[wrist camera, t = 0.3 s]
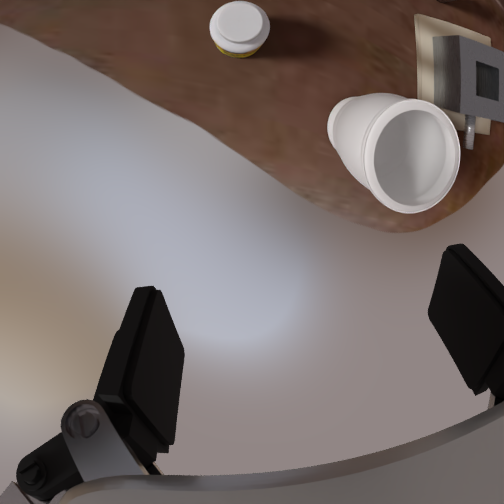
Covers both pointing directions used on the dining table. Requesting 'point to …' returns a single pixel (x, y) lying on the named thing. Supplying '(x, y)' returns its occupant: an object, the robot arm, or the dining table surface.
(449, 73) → the block
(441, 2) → the silver black capped cylinder
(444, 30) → the birch board
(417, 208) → the jar
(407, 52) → the dining table surface
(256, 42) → the supplement bottle
